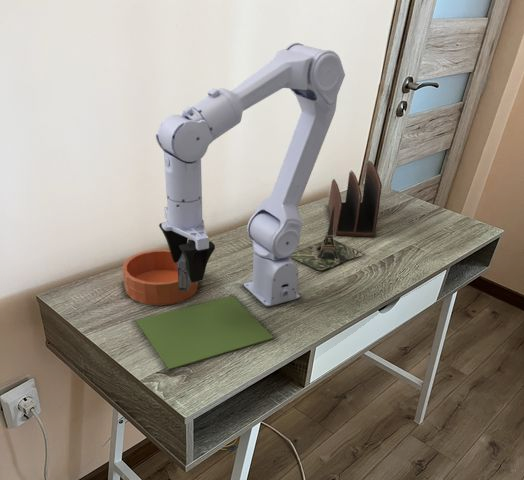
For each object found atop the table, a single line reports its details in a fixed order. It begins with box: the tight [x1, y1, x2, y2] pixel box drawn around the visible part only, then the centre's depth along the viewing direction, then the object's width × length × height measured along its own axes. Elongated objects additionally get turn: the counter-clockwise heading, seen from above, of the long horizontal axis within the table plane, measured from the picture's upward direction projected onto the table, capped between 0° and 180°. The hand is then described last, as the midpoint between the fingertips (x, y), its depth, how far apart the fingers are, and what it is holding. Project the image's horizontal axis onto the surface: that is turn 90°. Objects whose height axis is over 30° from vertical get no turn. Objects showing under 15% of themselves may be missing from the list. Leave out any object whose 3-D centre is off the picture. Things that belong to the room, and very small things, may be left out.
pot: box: [122, 249, 199, 306], centre depth 106 cm, size 15×15×5 cm
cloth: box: [135, 295, 275, 371], centre depth 96 cm, size 16×20×1 cm
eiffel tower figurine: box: [291, 205, 364, 271], centre depth 118 cm, size 15×10×13 cm
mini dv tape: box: [177, 239, 191, 291], centre depth 94 cm, size 8×2×6 cm, turn 174°
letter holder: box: [327, 160, 383, 238], centre depth 135 cm, size 10×20×14 cm, turn 179°
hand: (187, 270), depth 94 cm, fingers closed on mini dv tape, 7 cm apart
